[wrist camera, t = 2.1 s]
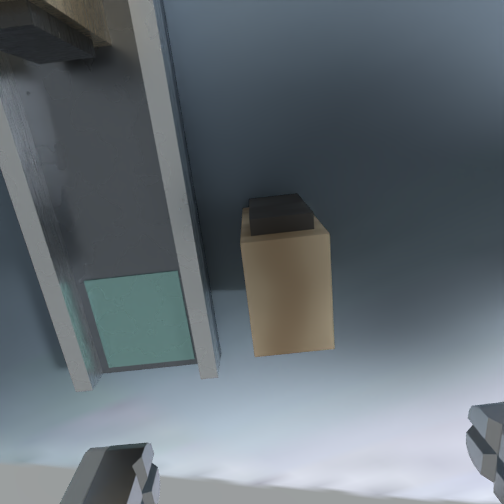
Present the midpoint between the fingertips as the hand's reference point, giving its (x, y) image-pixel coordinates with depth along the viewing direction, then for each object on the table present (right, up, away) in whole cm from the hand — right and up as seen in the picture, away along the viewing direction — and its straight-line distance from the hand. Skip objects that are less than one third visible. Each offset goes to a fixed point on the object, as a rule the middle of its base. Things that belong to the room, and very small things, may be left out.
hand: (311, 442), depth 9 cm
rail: (-10, +10, +13) cm, 19 cm away
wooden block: (0, +5, +15) cm, 16 cm away
